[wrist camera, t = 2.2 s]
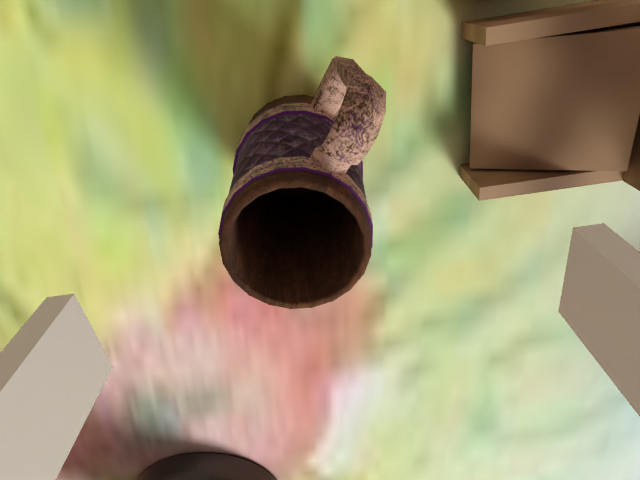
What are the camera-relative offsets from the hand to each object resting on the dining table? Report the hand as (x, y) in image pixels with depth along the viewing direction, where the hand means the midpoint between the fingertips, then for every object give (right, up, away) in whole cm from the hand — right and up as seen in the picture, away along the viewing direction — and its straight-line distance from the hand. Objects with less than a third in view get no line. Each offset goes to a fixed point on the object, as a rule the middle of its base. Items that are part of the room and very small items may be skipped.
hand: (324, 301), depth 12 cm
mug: (-1, +8, +15) cm, 17 cm away
